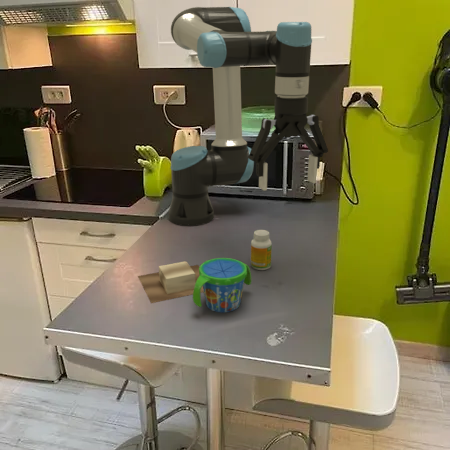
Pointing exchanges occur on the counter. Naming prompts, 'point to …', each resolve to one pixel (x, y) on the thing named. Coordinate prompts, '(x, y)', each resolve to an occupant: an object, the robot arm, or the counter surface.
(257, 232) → the supplement bottle
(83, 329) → the counter surface
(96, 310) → the counter surface
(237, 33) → the robot arm
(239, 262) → the snack cup
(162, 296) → the board
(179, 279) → the birch block
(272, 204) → the counter surface
